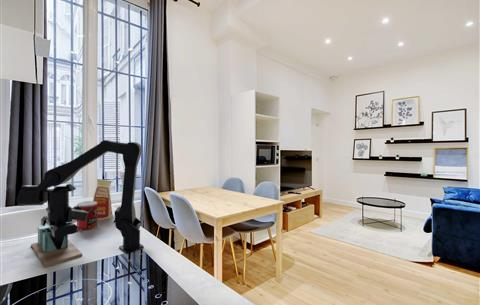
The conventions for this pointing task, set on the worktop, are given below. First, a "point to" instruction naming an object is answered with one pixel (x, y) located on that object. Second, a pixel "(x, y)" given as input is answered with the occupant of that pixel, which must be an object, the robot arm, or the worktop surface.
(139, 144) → the robot arm
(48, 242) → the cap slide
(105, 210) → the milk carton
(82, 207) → the canned food
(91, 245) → the worktop surface
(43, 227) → the cap fixed
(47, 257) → the board
